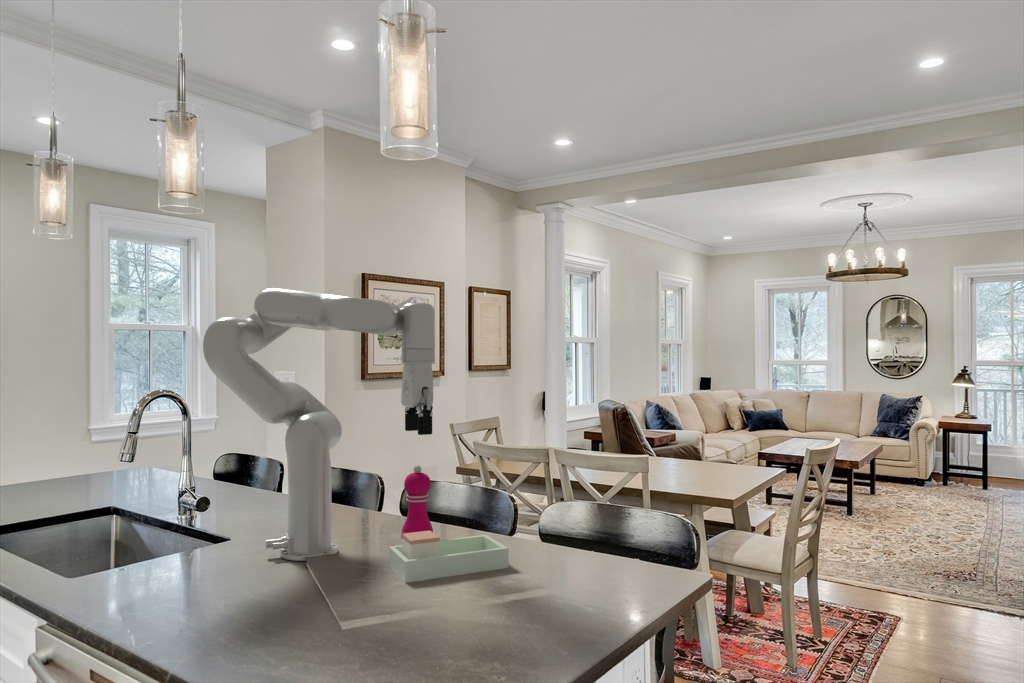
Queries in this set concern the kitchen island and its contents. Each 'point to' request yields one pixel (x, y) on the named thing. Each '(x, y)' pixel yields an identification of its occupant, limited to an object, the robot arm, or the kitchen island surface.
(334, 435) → the robot arm
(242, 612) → the kitchen island surface
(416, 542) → the box
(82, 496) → the kitchen island surface
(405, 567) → the tray
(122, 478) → the kitchen island surface
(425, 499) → the pepper mill
